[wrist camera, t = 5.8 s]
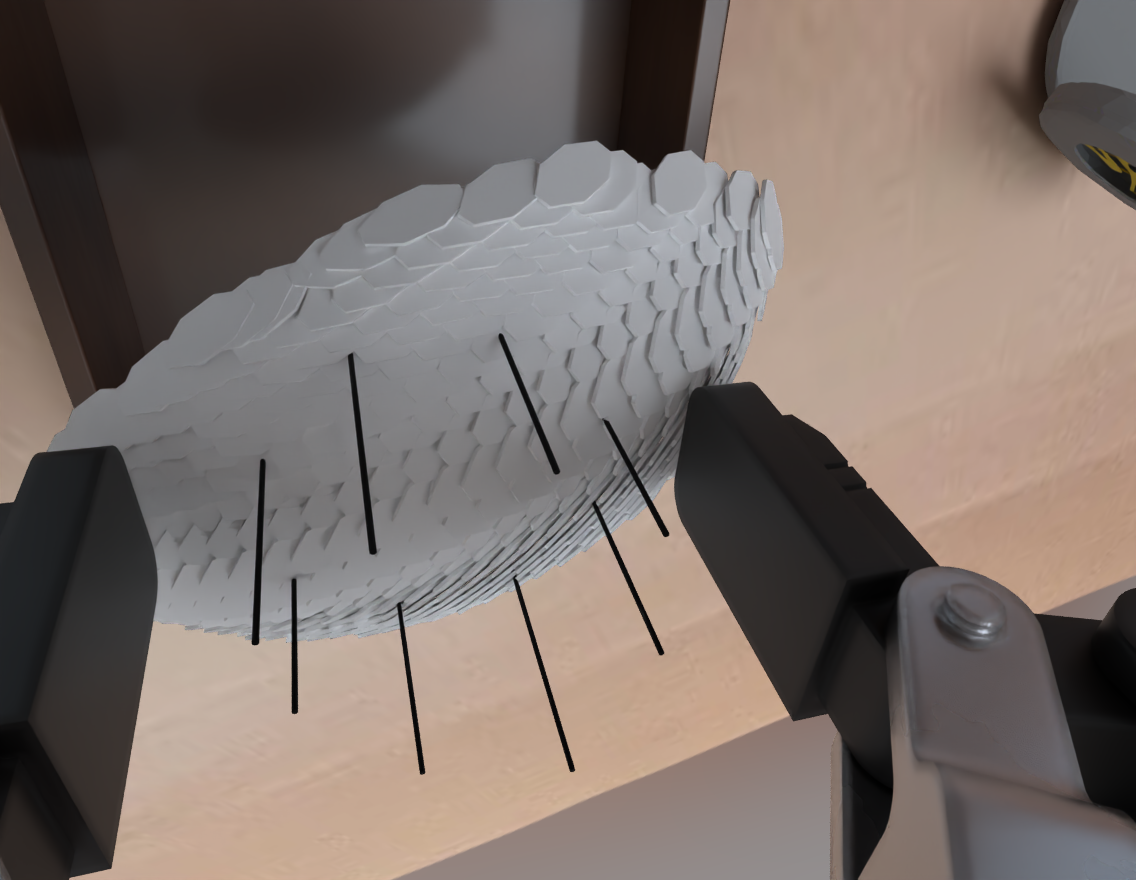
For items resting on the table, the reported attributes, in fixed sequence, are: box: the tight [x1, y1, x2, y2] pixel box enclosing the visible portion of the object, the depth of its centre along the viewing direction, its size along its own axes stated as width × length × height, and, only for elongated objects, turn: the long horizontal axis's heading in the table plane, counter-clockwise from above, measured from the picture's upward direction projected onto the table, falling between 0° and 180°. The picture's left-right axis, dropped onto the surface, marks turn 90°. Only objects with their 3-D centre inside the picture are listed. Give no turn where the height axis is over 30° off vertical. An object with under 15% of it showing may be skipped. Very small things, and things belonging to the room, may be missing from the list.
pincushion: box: [47, 141, 784, 775], centre depth 10 cm, size 12×6×6 cm, turn 112°
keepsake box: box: [0, 0, 730, 459], centre depth 19 cm, size 17×14×5 cm
